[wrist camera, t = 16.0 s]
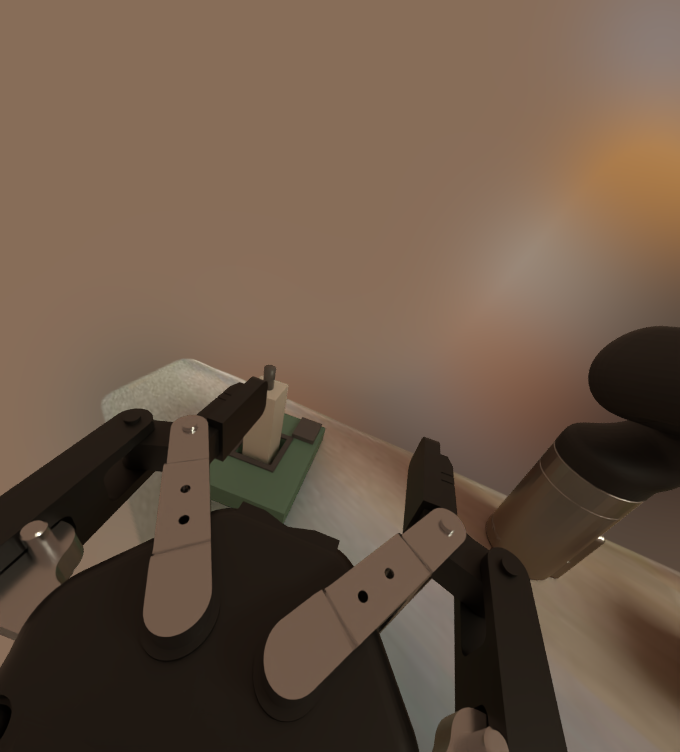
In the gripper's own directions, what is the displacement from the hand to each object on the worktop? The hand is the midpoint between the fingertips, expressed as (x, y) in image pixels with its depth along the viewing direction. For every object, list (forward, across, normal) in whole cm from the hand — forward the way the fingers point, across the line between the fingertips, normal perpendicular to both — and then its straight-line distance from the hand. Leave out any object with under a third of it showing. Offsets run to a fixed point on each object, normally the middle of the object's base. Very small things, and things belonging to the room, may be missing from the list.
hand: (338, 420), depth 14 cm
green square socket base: (+17, +12, +28) cm, 34 cm away
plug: (+17, +12, +28) cm, 34 cm away
